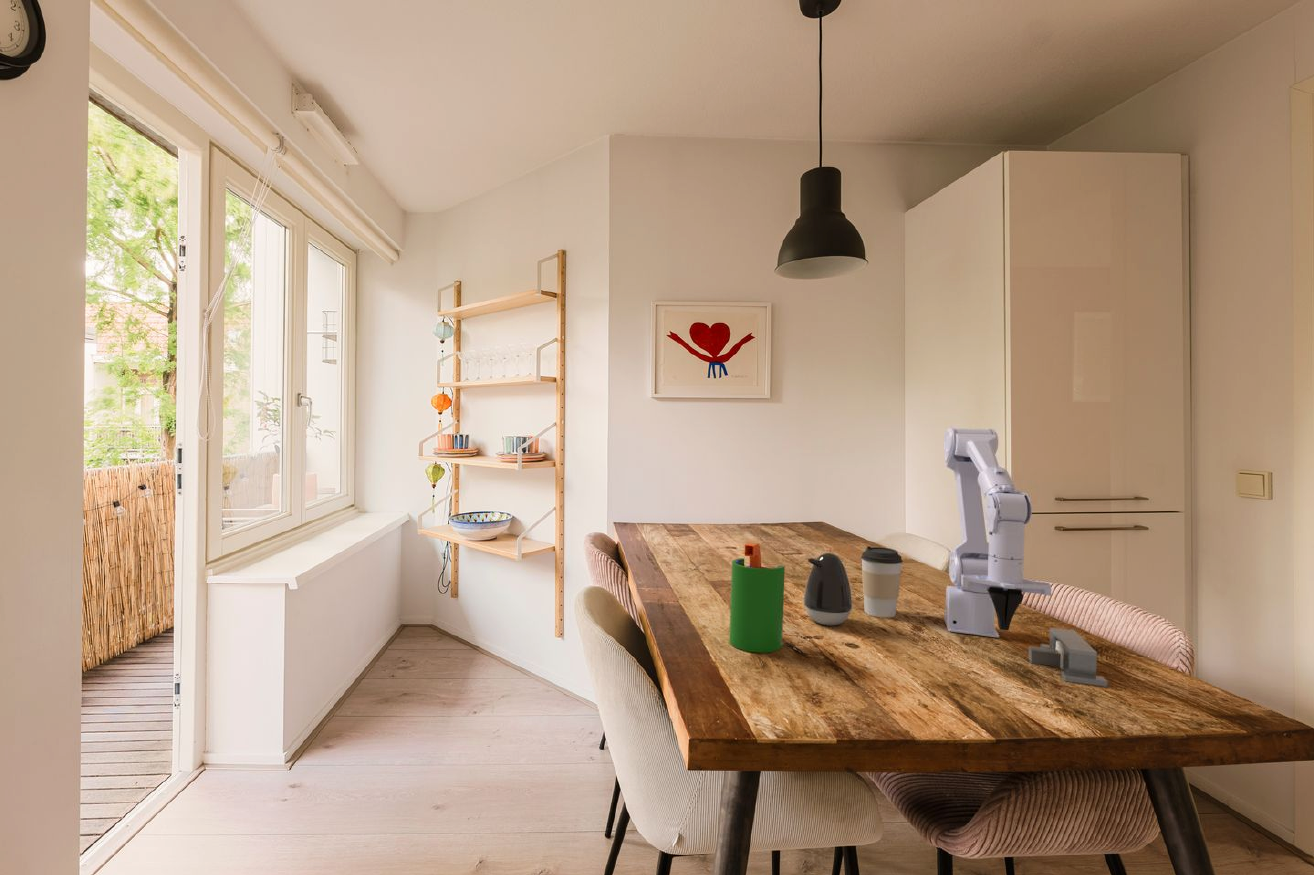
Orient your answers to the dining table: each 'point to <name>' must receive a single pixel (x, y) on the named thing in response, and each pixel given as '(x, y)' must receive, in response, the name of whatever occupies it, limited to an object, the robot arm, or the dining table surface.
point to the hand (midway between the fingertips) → (1003, 628)
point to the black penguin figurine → (828, 591)
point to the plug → (1047, 655)
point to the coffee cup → (881, 581)
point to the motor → (756, 604)
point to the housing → (1076, 657)
